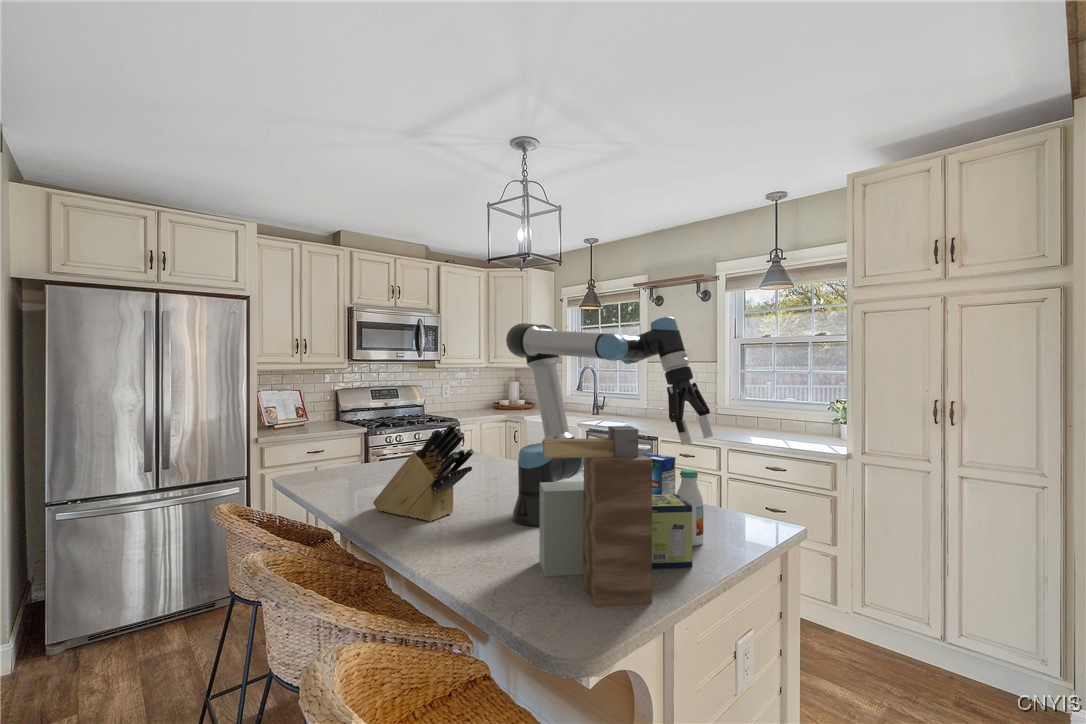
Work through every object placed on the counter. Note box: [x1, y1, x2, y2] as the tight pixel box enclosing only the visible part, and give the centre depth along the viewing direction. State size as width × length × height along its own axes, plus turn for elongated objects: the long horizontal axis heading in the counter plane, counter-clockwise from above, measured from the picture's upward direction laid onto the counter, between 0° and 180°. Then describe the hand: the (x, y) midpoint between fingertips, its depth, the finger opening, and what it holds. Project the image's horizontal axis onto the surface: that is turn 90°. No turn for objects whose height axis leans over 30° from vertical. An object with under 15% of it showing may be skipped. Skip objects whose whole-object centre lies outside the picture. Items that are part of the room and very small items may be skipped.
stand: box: [582, 451, 653, 608], centre depth 112 cm, size 12×12×30 cm
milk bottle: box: [675, 468, 704, 547], centre depth 144 cm, size 8×8×20 cm
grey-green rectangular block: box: [538, 480, 584, 578], centre depth 125 cm, size 9×13×20 cm
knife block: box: [372, 421, 474, 522], centre depth 169 cm, size 11×35×31 cm, turn 60°
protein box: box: [652, 493, 693, 570], centre depth 130 cm, size 10×16×16 cm
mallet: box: [542, 425, 639, 458], centre depth 111 cm, size 6×20×6 cm, turn 98°
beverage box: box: [640, 452, 676, 495], centre depth 155 cm, size 7×11×22 cm, turn 40°
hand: (698, 440), depth 145 cm, fingers open, 13 cm apart
